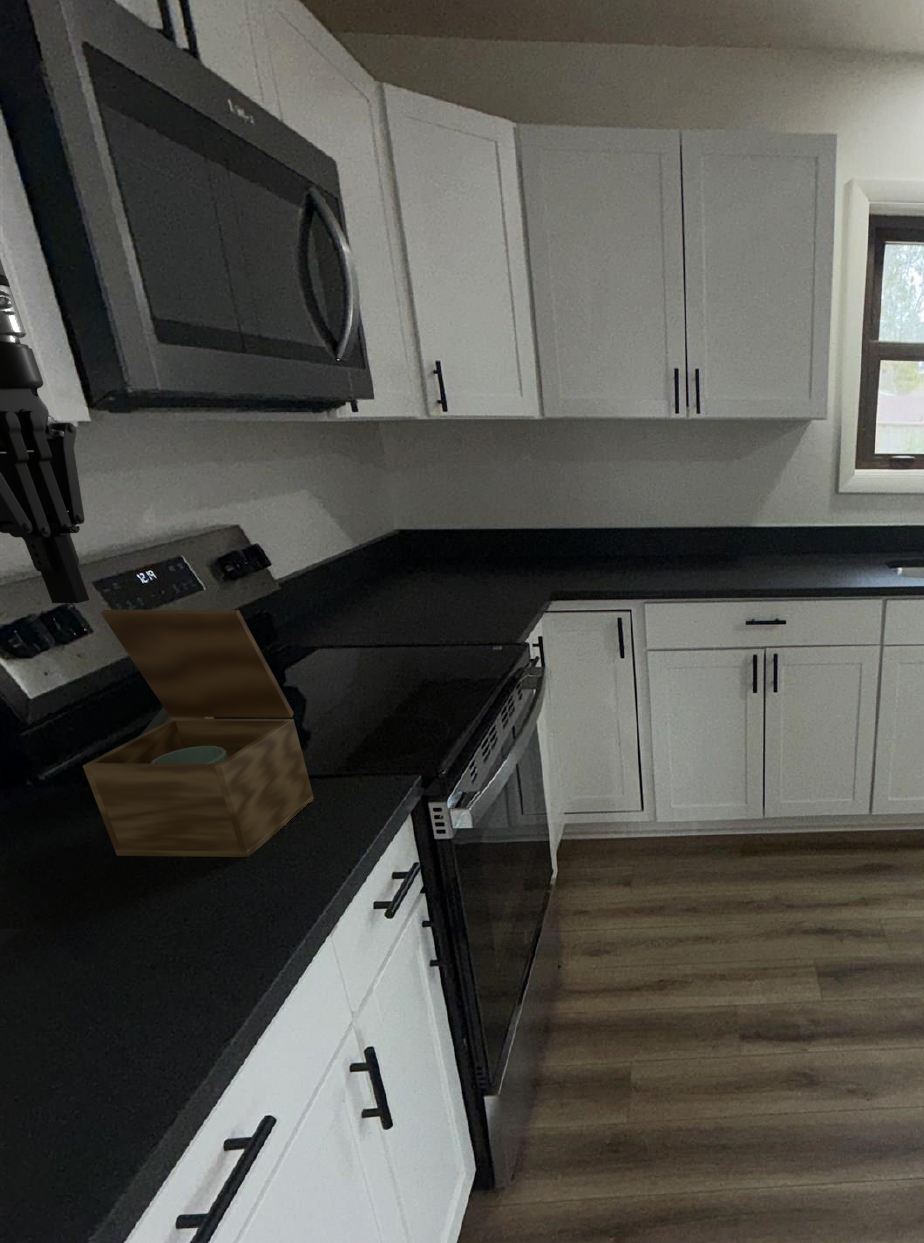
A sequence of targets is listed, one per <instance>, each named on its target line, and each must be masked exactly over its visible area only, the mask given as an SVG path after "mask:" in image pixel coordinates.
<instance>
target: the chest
mask: <svg viewBox="0 0 924 1243" xmlns="http://www.w3.org/2000/svg"><path fill="white" fill-rule="evenodd" d="M141 734H142V733H141ZM141 734H140V735H138V736H136V737H134V738H132V739H130V740H129V741H127V742H125V743H123V744H121V745H119V746H117V747H115V748H114V749H112V750H109V751H108V752H105V753H104V754H102V755H100V756H98V757H96V758H94V759H93V760H90V761H89V762H87V763H84V764H83V765H82V768H83V770H84V773H85V776H86V779H87V781H88V784H89V786H90V789H91V792H92V794H93V797H94V799H95V802H96V804H97V807H98V811H99V812H100V815H101V818H102V820H103V823H104V825H105V828H106V831H107V833H108V836H109V839H110V842H111V844H112V847H113V850H114V852H115V854H116V856H117V857H188V858H189V857H193V858H194V857H197V858H198V857H199V858H200V857H201V858H250V856H252V855H253V854H255V852H256V851H258V850H259V849H260V848H261V847H262V846H263V845H265V843H267V842H268V841H269V840H270V839H271V838H273V837H274V836H275V835H276V834H277V833H279V831H281V830H282V829H283V828H284V827H286V825H288V824H289V823H290V822H291V821H292V820H293V819H294V818H295V817H294V816H296V815H297V814H298V813H299V812H300V810H303V808H304V807H306V805H307V804H308V803H310V802H312V801H313V799H314V800H315V797H314V793H313V791H312V786H311V782H310V778H309V774H308V771H307V770H308V769H307V766H306V763H305V758H304V755H303V750H302V747H301V743H300V740H299V739H300V738H299V735H298V730H297V727H296V724H295V720H294V718H214V719H191V718H179V719H178V718H173V719H171V720H169V721H167V722H165V723H163V724H161V725H159V726H157V727H155V728H154V729H152V730H150V731H148V732H146V733H144V734H142V735H141ZM197 746H217V747H222V748H224V749H225V751H226V752H227V756H228V758H227V759H226V760H224V761H223V762H221V763H220V764H150V763H151V762H152V761H153V760H154V759H156V758H158V757H160V756H161V755H164V754H167V753H170V752H172V751H176V750H180V749H184V748H189V747H197ZM313 802H314V801H313ZM313 802H312V803H313ZM306 808H307V807H306ZM303 811H304V810H303ZM300 813H301V812H300ZM300 813H299V814H300ZM299 814H298V815H299ZM298 815H297V816H298ZM297 816H296V817H297ZM293 817H294V818H293ZM292 818H293V819H292ZM291 819H292V820H291ZM290 820H291V821H290ZM289 821H290V822H289ZM288 822H289V823H288ZM287 823H288V824H287ZM283 826H284V827H283ZM280 829H281V830H280ZM273 835H274V836H273Z"/></svg>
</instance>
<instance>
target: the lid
mask: <svg viewBox="0 0 924 1243" xmlns="http://www.w3.org/2000/svg"><path fill="white" fill-rule="evenodd" d="M100 614H101V616H102V618H103V619H104V621H105V623H107V625H108V626H109V628H110V630H111V631H112V633H113V634H114V635H115V637H116V638H117V640H118V642H119V643H120V644H121V645H122V648H123V649H124V650H125V652H126V654H127V655H128V656H129V658H130V659H131V661H132V662H133V664H134V665H135V667H136V668H137V670H138V671H139V672H140V674H141V675H142V678H144V680H145V682H146V683H147V685H148V686H149V687H150V689H151V690H152V692H153V693H154V695H155V696H156V698H157V699H158V700H159V703H160V704H161V706H162V708H163V707H164V708H165V710H166V711H167V713H168V714H169V716H170V717H214V718H285V719H292V718H293V716H294V714H295V712H294V711H293V710H292V707H291V706H290V704H289V702H288V700H287V698H286V696H285V694H284V692H283V690H282V688H281V686H280V685H279V683H278V681H277V679H276V677H275V675H274V674H273V672H272V669H271V668H270V665H269V664H268V663H267V660H266V659H265V657H264V655H263V653H262V651H261V649H260V647H259V645H258V643H257V641H256V640H255V638H254V636H253V634H252V632H251V630H250V629H249V626H248V624H247V623H246V621H245V619H244V617H243V615H242V613H241V612H240V610H239V609H103V610H102V611H101V612H100Z"/></svg>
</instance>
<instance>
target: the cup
mask: <svg viewBox="0 0 924 1243" xmlns="http://www.w3.org/2000/svg"><path fill="white" fill-rule="evenodd" d="M227 758H228V756H227V752H226V751H225V749H224V748H222V747H217V746H197V747H189V748H184V749H180V750H176V751H172V752H170V753H167V754H164V755H161V756H160V757H158V758H156V759H154V760H153V761H152V762H151V763H150V764H220V763H221V762H223V761H224V760H226V759H227Z"/></svg>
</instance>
